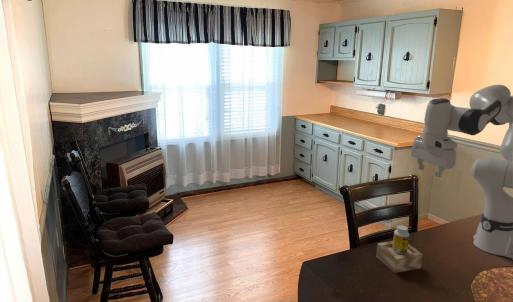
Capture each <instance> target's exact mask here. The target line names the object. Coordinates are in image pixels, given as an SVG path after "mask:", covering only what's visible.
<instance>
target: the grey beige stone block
mask: <svg viewBox="0 0 513 302" xmlns="http://www.w3.org/2000/svg"><path fill="white" fill-rule="evenodd" d="M392 246H393V240H390V241H384V242H378V243H377V244H376V252H375V253H376V255H375V257H376V258H377V259H378V260H380V261H381V262H382V263H383V264H384V265H385V266H386V267H387V268H389V269H390V270H391V271H392V272H393V273H394V274H396V273H403V272H407V271H413V270H418V269H421V268H422V264H423V256H424V254H423V253H422V252H420V251H419V250H418V249H416V248H415V247H413V246H412V245H411V244H410V243H408V248H407V252H406V253H405V254H399V253H396V252H394V251H393V250H392Z"/></svg>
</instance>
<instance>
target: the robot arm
mask: <svg viewBox="0 0 513 302" xmlns="http://www.w3.org/2000/svg"><path fill="white" fill-rule="evenodd" d="M511 94H512V93H511V90H510V89H509V87H507V86H506V85H504V84H494V85H490V86H489V85H488V86H486V87H484V88H481V89H479V90H477V91H475V92H473V94H472V95H471V96H470V99H469V101H468V102H469V107H459V106H455V105H453V104H452V103H451V100H450V99H448V98H443V97H442V98H433V99H431V100H429V101H428V103H427V106H426V110H425V112H424V113H425V115H424V121H423V122H424V128H423V130H422V133H421V134H422V135H417V136H415V138H414V139H413V140H414V141H413V143H412V146H411V151H410V155H411V157H412V158H415V159H416V161H417V165H418V167H417V168H418V170H420V171H424V170H425V165H424V162H427V163H428V164H432V165H435V166H437V168H438V170H437V171H435V174H434V176H435V177H437V178H441V177H443V176H442V173H443V172H444V171H445V170H446V169H447V170H449V169H453V168H454V167H455V165H456V161H457V160H456V158H457V151H456V149H457V148H458V143H457V142H455V141H454V140H453V139H452V138H450V137H449V136H448V131H451V132H457V133H463V134H466V135H470V136H476V135H479V134H480V133H481V132H482V131H484V129H485V128H486V127H487V125H489V124H490V123H491V124H492V125H493V126H502V125H506V124H508V129H507V131H506V132H505V134H504V137H503V140H502V142H501V145H500V147H499V152H500V154H501V156H502V157H503V159H500V158H499V159H498V158H493V157H479V158H477V159H476V160H475V161H474V162H473V163H472V164H471V169H470V173H471V175H472V177H473V179H475V180H476V181H477V182H478V184H480V186H481V188H482V190H483V193H484V198H485V199H484V209H483V213H481V217H480V222H479V224H478V226H477V229H476V232H475V234H474V235H473V244H474V246H475V247H476V248H478V249H480V250H481V251H484V252H486V253H488V254H490V255H491V254H492V255H496V256H502V257H506V258H509V259H513V196H511V195H510V194H508V193H507V192H506V191H505V189H504V188H506V189H507V188H508V189H512V190H513V95H511ZM504 159H505V160H504Z"/></svg>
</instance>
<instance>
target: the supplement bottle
mask: <svg viewBox="0 0 513 302" xmlns="http://www.w3.org/2000/svg"><path fill="white" fill-rule="evenodd" d="M409 239H410V233H409V228H408V227H407V226H405V225H401V224H400V225H397V226H396V229H395V230H394V231H393V240H392V241H393V246H392V250H393V251H394V252H396V253H399V254H405V253H406V252H407V248H408V244H409Z"/></svg>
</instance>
